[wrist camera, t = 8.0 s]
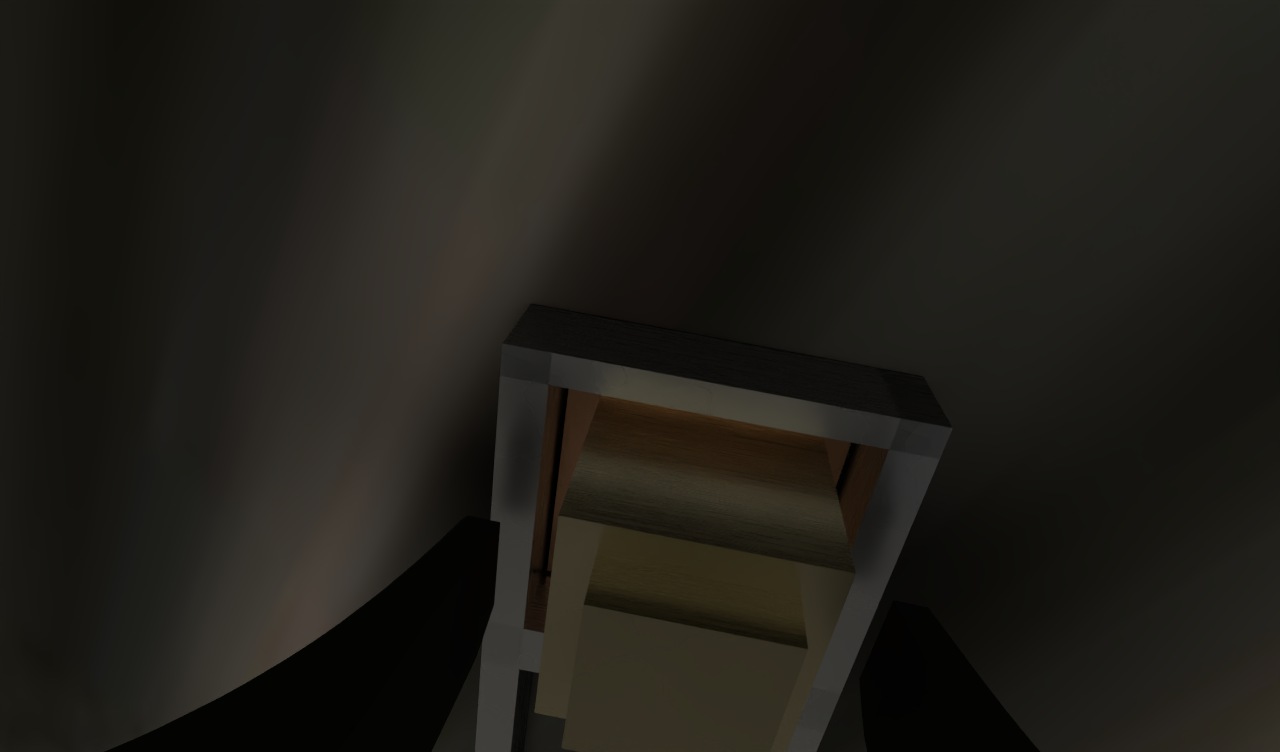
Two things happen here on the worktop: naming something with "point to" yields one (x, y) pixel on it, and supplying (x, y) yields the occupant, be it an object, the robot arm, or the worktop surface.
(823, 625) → the block
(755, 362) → the grey flat frame
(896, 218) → the worktop surface
